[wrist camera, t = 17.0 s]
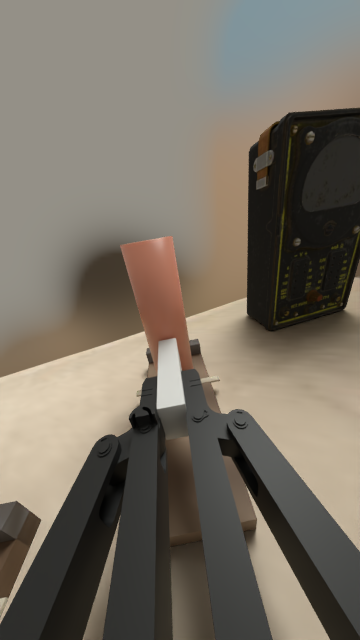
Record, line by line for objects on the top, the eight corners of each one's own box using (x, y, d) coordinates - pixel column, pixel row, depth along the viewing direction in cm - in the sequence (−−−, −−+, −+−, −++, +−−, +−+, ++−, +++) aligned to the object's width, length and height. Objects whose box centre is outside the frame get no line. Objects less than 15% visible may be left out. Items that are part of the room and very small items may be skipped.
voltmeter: (271, 336, 27) (292, 101, 16) (240, 315, 34) (239, 146, 23) (353, 311, 29) (420, 93, 18) (307, 297, 37) (335, 137, 26)
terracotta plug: (197, 386, 18) (173, 236, 12) (158, 394, 18) (114, 246, 12) (191, 361, 21) (170, 235, 15) (159, 367, 21) (125, 244, 15)
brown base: (272, 525, 10) (276, 504, 9) (121, 556, 10) (103, 539, 9) (207, 355, 25) (205, 337, 24) (144, 366, 25) (139, 349, 24)
